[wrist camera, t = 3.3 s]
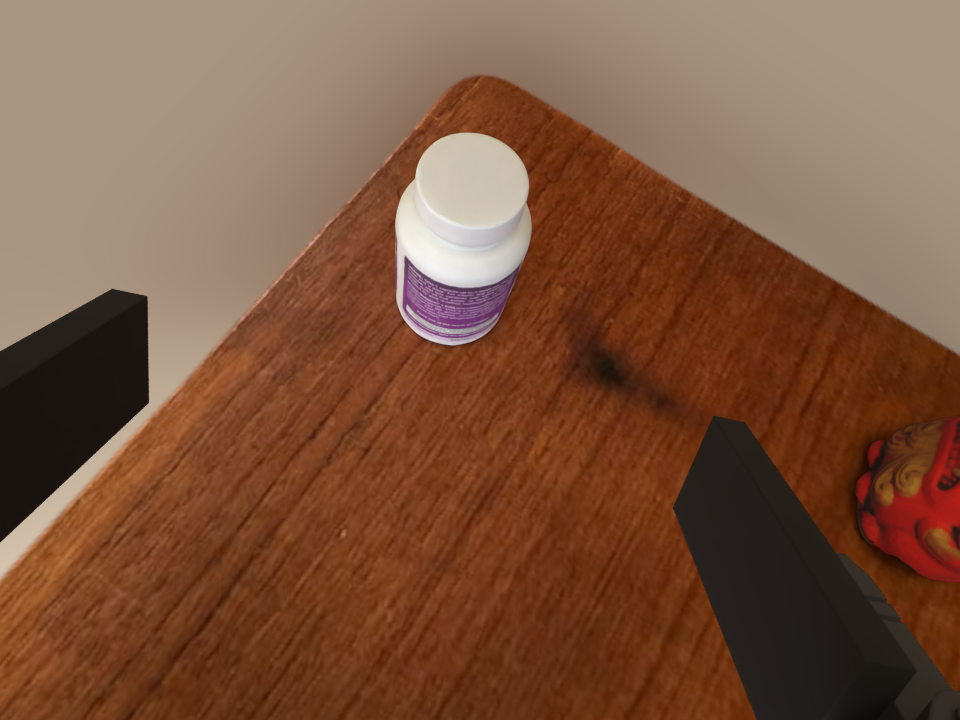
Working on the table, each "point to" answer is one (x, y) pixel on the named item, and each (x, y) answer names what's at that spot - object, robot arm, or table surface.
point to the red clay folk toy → (915, 498)
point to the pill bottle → (461, 237)
